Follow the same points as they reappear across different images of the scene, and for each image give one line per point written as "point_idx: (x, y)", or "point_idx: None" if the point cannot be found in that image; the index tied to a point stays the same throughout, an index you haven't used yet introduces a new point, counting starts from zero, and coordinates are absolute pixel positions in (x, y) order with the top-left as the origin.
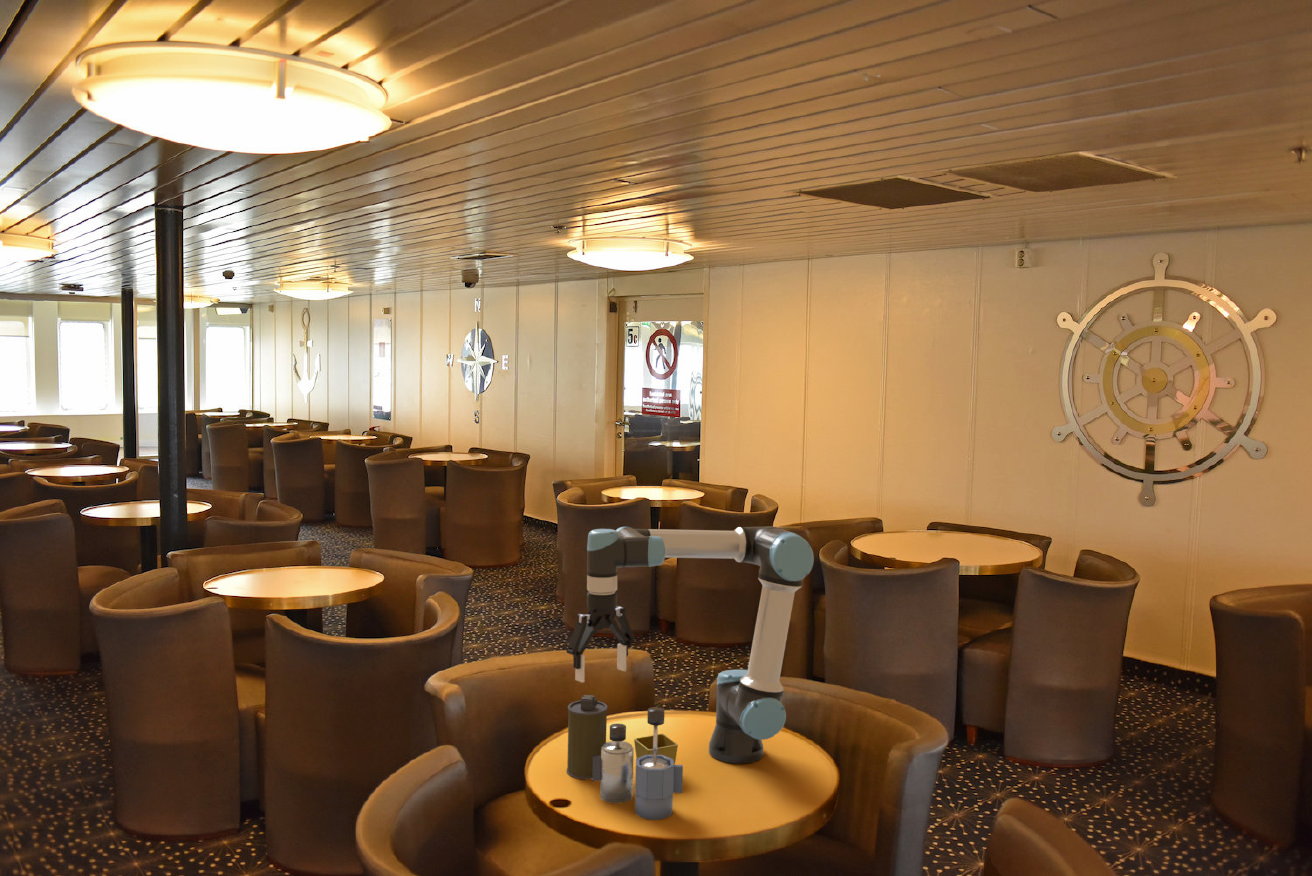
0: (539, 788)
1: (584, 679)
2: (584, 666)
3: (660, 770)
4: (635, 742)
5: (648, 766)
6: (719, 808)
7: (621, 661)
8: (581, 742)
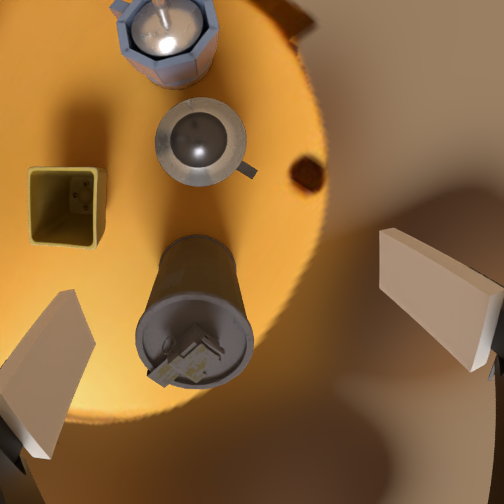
0: (309, 246)
1: (387, 234)
2: (436, 262)
3: None
4: (97, 238)
5: (191, 16)
6: (75, 25)
7: (63, 341)
8: (228, 275)
